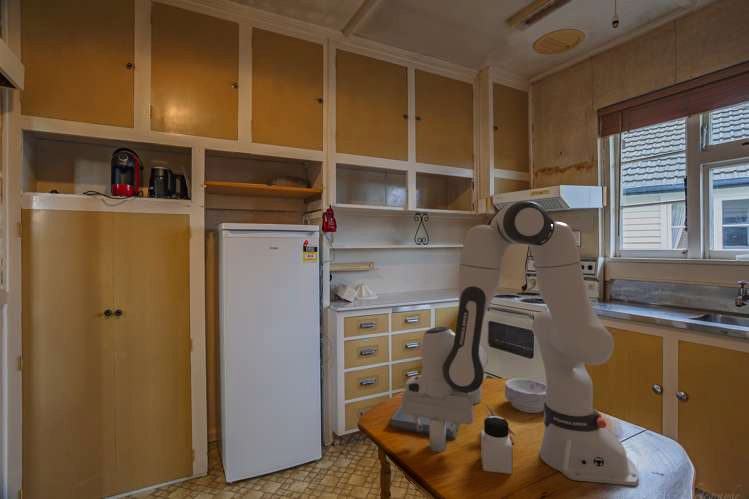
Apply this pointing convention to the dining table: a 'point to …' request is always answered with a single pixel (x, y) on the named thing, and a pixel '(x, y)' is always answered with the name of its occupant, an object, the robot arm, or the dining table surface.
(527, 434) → the dining table surface
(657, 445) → the dining table surface
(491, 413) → the lily
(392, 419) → the tray
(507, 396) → the paper bowls
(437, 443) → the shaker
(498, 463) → the medicine bottle
